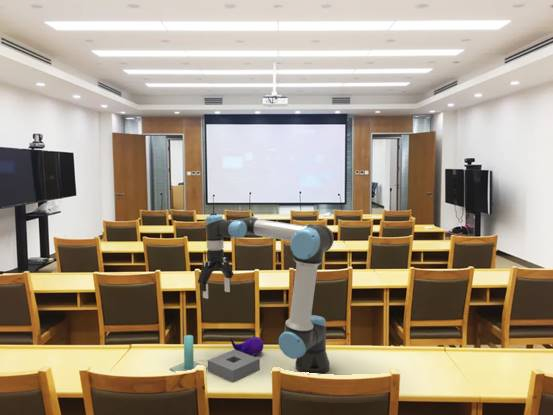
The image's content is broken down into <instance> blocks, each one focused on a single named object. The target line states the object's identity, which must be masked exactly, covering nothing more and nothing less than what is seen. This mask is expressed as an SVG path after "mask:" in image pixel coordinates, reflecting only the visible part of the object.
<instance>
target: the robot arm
mask: <svg viewBox="0 0 553 415" xmlns="http://www.w3.org/2000/svg"><path fill="white" fill-rule="evenodd" d="M205 219H206V220H205V230H206V249H207V251H206V256H207V259H208V260H207V261H202V267H201V270H200V274H199V275H198V276H199V277H198V280H197V283H198V284H200V285H201V291H202V299H203V298H204V299H206V300H207V299H209V284H208V282H209V279H210V277H211V276H212V274H213V272H214V271H217V270H220V272H221V273H222V274H223V276H224V277H223V278H224V283H223V284H224V292H225V293H230V292H231V287H230V286H231V279H232V278H233V276H234V271H233V269H232V267H231V265H230V263H229V257H225V255H224V254H225V253H224V252H225V251H224V238H232V239H238V238H239V239H240V238H241V239H242V238H244V237H245V236H246V235H252V236H259V237H265V238H271V239H277V240H283V241H287V242H288V241H289V242H290V251H291V252H292V254H293V257H292V259H293V261H294V262H295V264H296V265H295V266H296V267H295V272H294V273H295V274H294V281H293V289H292V298H291V304H290V313H289V318H288V319H287V320H285V324H284V331H283V332H282V333H281V334H280V336H279V337H278V346H279V349H280V351H281V352H282V353H283V355H285V357H287V358H290V359H293V360H295V362H294V363H295V370H296V371H297V372H299V371H300V372H299V373H301V372H309V373H323V374H325V373H327V372H329V371H330V368H331V367H330V361H329V358H328V353H327V350H326V349H327V348H326V346H327V342H326V341H327V325H326V324H327V322H326V319H325V318H324V317H323V316H319V315H314V314H312V312H313V311H312V310H313V304H314V297H315V289H316V287H315V286H316V282H317V274H318V267H319V266H320V265H321V264H322V263H323V257H324V253H326V252H328V251H329V250H330V249H331V248H332V247H333V244H334V241H335V240H334V237H335V236H334V234H333V232H332V230H331V229H330V228H329V227H327V226H325V225H324V224H323V225H321V224H311V223H310V224H309V223H308V224H306V225H300V224H294V223H286V222H281V221H274V220H267V219H259V218H258V217H256V216H255V217H253V216H249V217H246V218H239V219H231V220H226V219H225V220H224V219H223V215H221V214H218V215H217V214H213V215H212V214H211V215H207V216H206V218H205Z"/></svg>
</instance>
